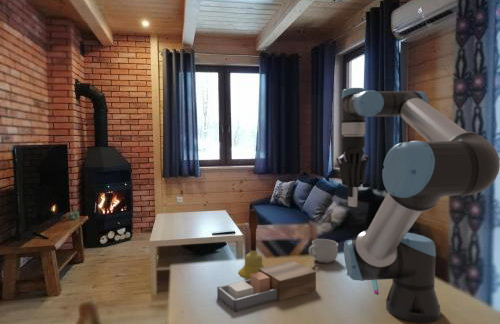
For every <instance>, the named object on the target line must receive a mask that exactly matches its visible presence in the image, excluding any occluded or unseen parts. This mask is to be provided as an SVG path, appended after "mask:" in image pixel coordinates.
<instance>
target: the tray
mask: <svg viewBox="0 0 500 324" xmlns="http://www.w3.org/2000/svg"><path fill="white" fill-rule="evenodd" d="M243 281H245V282H246V283H248V284H249V285H250V279H246V280H240V281H237V282H232V283H229V284H224V285H221V286H216V291H217V299H219V300H220V301H221V302H223V303H224V305H226V306H227V307H228V308H230V309H231V311H233V312H234V313H235V312H239V311H243V310H245V309H250V308H252V307H253V308H254V307H257V306H259V305H263V304H267V303H271V302H273V301H277V300H278V299H277V289H276V288H275V289H271V290H268V291H264V292H260V293H257V294H254V293H253V295H249V296H245V297H242V298H238V299H234V298H233V297H232V296H231V295H229V291H228V285H231V284H235V283H239V282H243Z"/></svg>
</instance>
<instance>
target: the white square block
mask: <svg viewBox="0 0 500 324" xmlns="http://www.w3.org/2000/svg"><path fill="white" fill-rule="evenodd" d="M242 281H243V282H240V281H238V282H239V283H236V282H234V283H235V284H232V283H230V284H231V285H228V284H227V285H228V291H229V295H231V296H232V297H233V298H234V299H238V298H242V297H245V296H249V295H253V287H252V286H251V285H249V284H248V283H246V282H245V281H244V280H242Z"/></svg>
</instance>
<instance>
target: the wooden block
mask: <svg viewBox="0 0 500 324" xmlns="http://www.w3.org/2000/svg"><path fill="white" fill-rule="evenodd" d="M259 272H262V273H263V274H265V275H267V276H268V277H270V290H271V289H275V288H276V289H277V300H279V301H283V300H286V299H289V298H294V297H296V296H300V295H304V294H306V293H310V292H314V291H317V272H316V270H313V269H311V268H310V267H307V266H304V265H303V264H301V263H299V262H297V261H294V260H292V261H287V262H281V263H278V264H273V265H269V266H264V268H260V269H259Z"/></svg>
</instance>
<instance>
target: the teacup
mask: <svg viewBox="0 0 500 324" xmlns="http://www.w3.org/2000/svg"><path fill="white" fill-rule="evenodd" d="M311 243H312V244H311V245H310V246H309V248H308V254H309V255H310V256H312V257H313V258H314V260H315V261H317V262H319V263H322V264H330V263H333V262H334V261H335V260H336V259H337V257H338V251H339V243H338V242H336V241H335V240H333V239H327V238H317V239H314V240H312V241H311Z"/></svg>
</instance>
